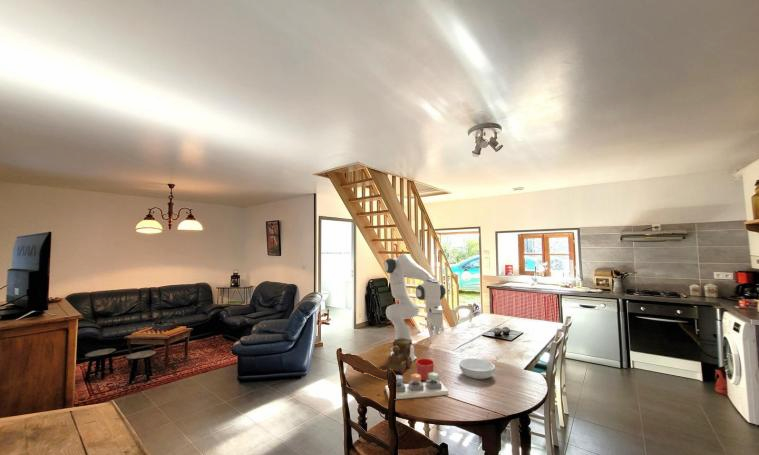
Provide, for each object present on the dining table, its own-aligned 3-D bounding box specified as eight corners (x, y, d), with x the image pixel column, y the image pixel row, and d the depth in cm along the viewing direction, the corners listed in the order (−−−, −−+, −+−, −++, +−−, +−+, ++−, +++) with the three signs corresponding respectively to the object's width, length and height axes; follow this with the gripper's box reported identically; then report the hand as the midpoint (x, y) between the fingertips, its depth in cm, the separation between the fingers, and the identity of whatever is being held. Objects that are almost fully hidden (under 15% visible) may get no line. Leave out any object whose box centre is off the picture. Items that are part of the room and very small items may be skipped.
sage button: (427, 381, 170) (426, 372, 170) (436, 380, 171) (436, 372, 171) (430, 385, 164) (430, 376, 165) (440, 384, 165) (439, 376, 165)
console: (385, 389, 169) (385, 380, 170) (440, 384, 174) (440, 376, 174) (389, 399, 158) (388, 390, 158) (448, 394, 162) (447, 385, 162)
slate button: (391, 383, 167) (391, 375, 167) (401, 383, 168) (401, 374, 168) (393, 388, 161) (393, 379, 162) (404, 387, 162) (403, 378, 163)
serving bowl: (498, 384, 173) (497, 372, 174) (460, 381, 177) (459, 369, 178) (492, 370, 194) (491, 359, 194) (458, 368, 198) (458, 357, 198)
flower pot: (420, 383, 176) (420, 366, 177) (413, 375, 187) (413, 359, 188) (437, 380, 179) (437, 363, 180) (429, 373, 190) (429, 357, 190)
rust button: (409, 382, 168) (409, 374, 169) (419, 381, 169) (419, 373, 170) (412, 386, 163) (412, 378, 163) (422, 386, 164) (422, 377, 164)
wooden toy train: (398, 362, 209) (397, 337, 211) (413, 365, 204) (413, 339, 205) (385, 373, 192) (384, 346, 193) (401, 376, 187) (401, 348, 188)
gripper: (424, 305, 186) (425, 328, 185) (432, 311, 166) (433, 337, 164) (434, 304, 186) (435, 328, 185) (443, 310, 166) (444, 336, 165)
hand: (434, 332), depth 174 cm, fingers open, 8 cm apart
